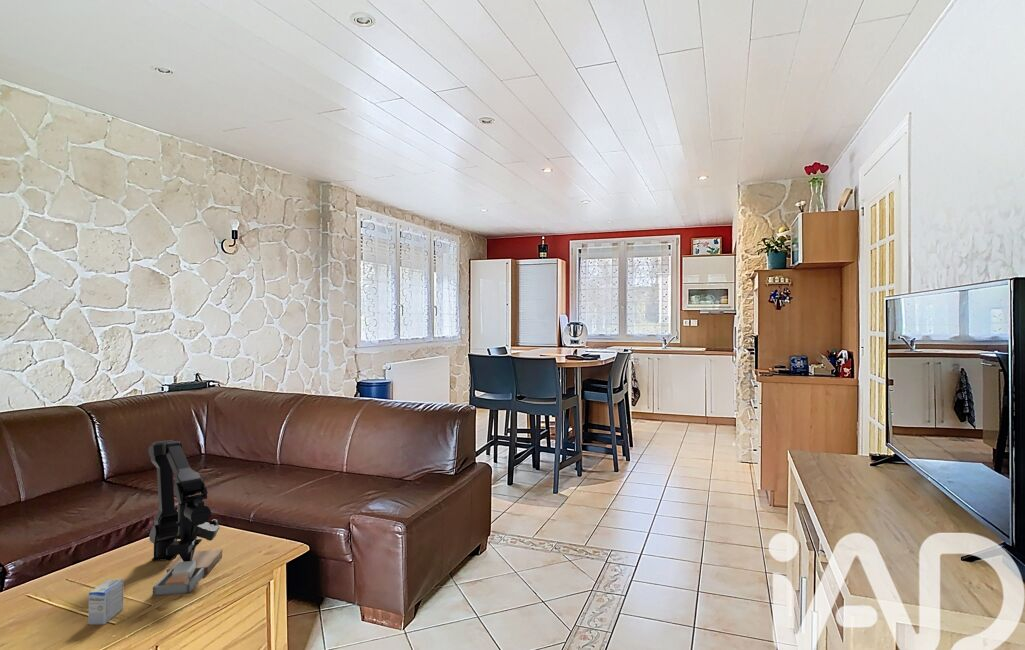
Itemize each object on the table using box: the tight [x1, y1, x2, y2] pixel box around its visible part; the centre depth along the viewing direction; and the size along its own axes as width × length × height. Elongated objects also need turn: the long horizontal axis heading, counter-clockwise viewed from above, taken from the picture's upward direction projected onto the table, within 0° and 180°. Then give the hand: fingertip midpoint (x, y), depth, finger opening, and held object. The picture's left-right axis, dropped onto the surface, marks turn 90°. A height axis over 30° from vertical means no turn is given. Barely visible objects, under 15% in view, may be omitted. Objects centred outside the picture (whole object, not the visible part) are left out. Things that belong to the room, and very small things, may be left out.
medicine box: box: [87, 578, 124, 626], centre depth 152 cm, size 8×4×9 cm, turn 5°
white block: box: [172, 561, 196, 578], centre depth 174 cm, size 5×5×2 cm
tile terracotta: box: [165, 574, 189, 585], centre depth 169 cm, size 5×5×2 cm
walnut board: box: [166, 549, 223, 576], centre depth 184 cm, size 12×14×2 cm
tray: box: [152, 568, 205, 596], centre depth 171 cm, size 10×12×2 cm
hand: (188, 565), depth 178 cm, fingers closed
